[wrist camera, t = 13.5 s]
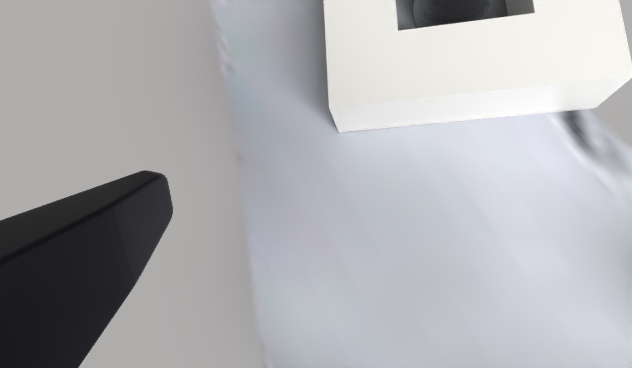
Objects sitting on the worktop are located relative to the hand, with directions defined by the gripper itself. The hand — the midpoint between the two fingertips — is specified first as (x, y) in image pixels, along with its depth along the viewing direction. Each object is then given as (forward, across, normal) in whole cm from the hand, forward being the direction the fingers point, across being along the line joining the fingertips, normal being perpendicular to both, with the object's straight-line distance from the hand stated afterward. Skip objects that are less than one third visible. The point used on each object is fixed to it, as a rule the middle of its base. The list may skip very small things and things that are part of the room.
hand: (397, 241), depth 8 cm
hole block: (+19, 0, 0) cm, 19 cm away
